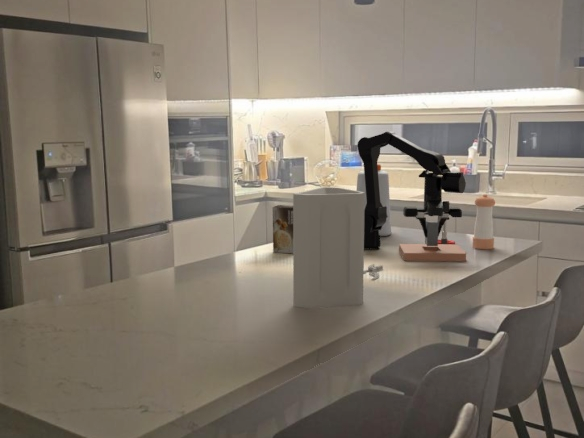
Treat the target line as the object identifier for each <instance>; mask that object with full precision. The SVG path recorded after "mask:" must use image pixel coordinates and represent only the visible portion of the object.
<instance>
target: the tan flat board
mask: <svg viewBox="0 0 584 438" xmlns="http://www.w3.org/2000/svg"><path fill="white" fill-rule="evenodd" d="M398 252H399V254H400V256H401V257H402V259H403V261H413V262H414V261H415V262H416V261H418V262H421V261H424V262H430V261H431V262H437V261H438V262H466V261H467V253H466V251H464V249H462V247H460V246H459V245H458V244H456V243H455V244H438V246H427V245H426V244H425V243H399V245H398Z"/></svg>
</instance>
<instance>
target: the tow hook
mask: <svg viewBox="0 0 584 438" xmlns="http://www.w3.org/2000/svg"><path fill="white" fill-rule="evenodd" d="M447 221H448V220H446V221H445V222H444V224H443V226H442V232H441V238H440V239H438V244H456V241H454V240H452V239H451V240H450V239H448V238H447V235H448V232H447V223H448V222H447Z"/></svg>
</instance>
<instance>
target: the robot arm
mask: <svg viewBox="0 0 584 438" xmlns="http://www.w3.org/2000/svg"><path fill="white" fill-rule="evenodd" d="M388 145H389V146H391V147H393V148H395V149H396V150H398V151H400V152H402V153H403V154H405V155H407V156H409V157H411V158H412V159H414V160H415V161H416V162H417V164H418V165H419V166H421V168H423V170H422V172H421V173H420V174H419V175H418V178H424V183H423V184H424V187H423V190H424V191H423V208H417V207H416V206H404V208H403V210H402V211H403V212H402V213H403V214H402V215H403V216H404V217H406V218H415V219H416V220H418V221H419V223H420V225H421V228H422V233H423V236H424V238H425V237H426V236H427V231H426V220H427V218H426V217H425V216H426V215H428V216H429V217H435V216H436V217H437V220H436V221H437V222H438V237H439V236H440V234H441V231H442V229H443V224H444V222H445V221H446V220H447V221H448V220H450V217H452V218H462V217H463V216H462V215H463V211H462V209H461V208H460V207H458V206H450V201H449V200H442V198H443V197H442V193H443V192H445V193H453V194H463V193H465V189H466V187H467V186H466V185H467V182H466V179H465V176H464V172H462V171H458V172H452V171H451V169H450V168H449V167H448V165H447V164H446V160H445V156H444V155H443V154H441V153H438V152H436V151H432V150H429V149H425V148H422V147H420V146H418V145H417V144H415V143H413V142H411V141H410V140H408V139H406V138H404V137H403V136H400V135H398V134H397V133H396V132H395V131H385V132H382V133H381V134H377V135H374V136H364V137H361V138H360V139H359V140H358V142H357V147H356V148H357V151H358V155H359V157H360V159H361V161H362V163H363V171H364V174H365V187H366V199H367V204H366V207H365V210H364V250H380V247H381V236H380V234H379V231H378V230H381V228H382V226H383V225H384V224H385V222H386V218H388V216H387V207H386V206H385V207H383V206H382V204H381V202H380V192H379V179H378V167H377V164H378V160H379V157H380V155H381V149H382V148H384V147H386V146H388ZM442 190H443V191H442ZM449 216H450V217H449Z"/></svg>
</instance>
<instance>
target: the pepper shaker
mask: <svg viewBox="0 0 584 438" xmlns="http://www.w3.org/2000/svg"><path fill="white" fill-rule="evenodd" d="M474 204H475V206H476V215H475V223H474V227H473V228H474V229H473V237H472V248H474V249H478V250H493V249H494V247H495V242H494V241H495V238H494V223H493V222H494V221H493V211H494V209H493V207H494V206H495V204H496V200H495V199H494V198H493V197H491V196H488V194H483V195H482V196H478V197H476V199H475V200H474Z"/></svg>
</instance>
